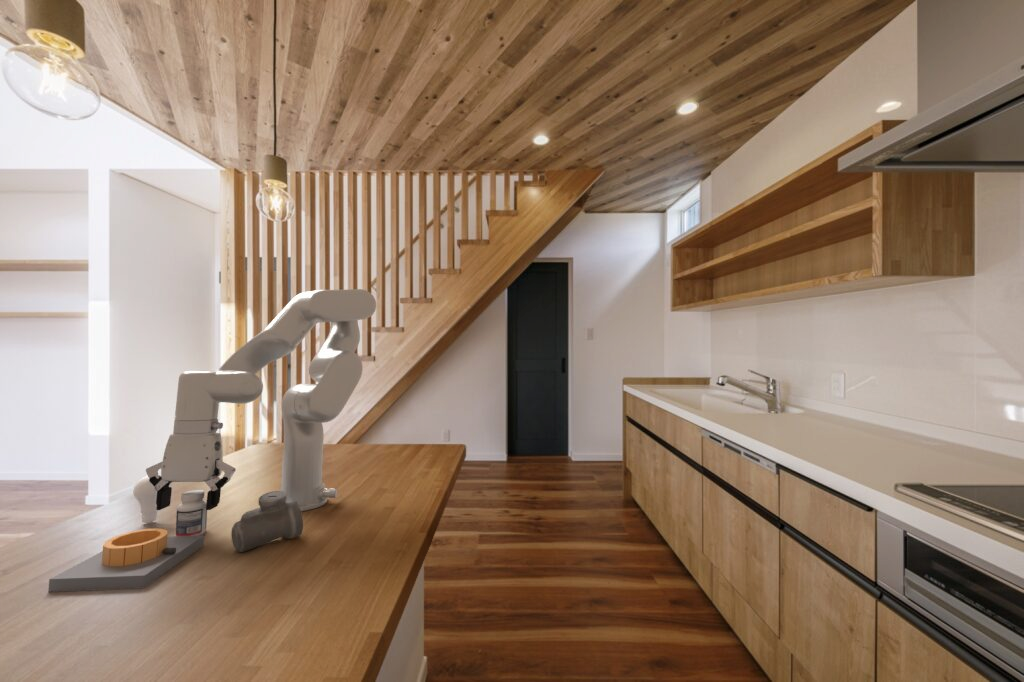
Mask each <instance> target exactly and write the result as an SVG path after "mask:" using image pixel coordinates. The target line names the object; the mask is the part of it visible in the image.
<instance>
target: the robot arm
mask: <svg viewBox="0 0 1024 682" xmlns="http://www.w3.org/2000/svg"><path fill="white" fill-rule="evenodd" d="M376 310H377V300H376V298H375V296H374V295H373V294H372V293H371V292H369V291H368V290H366V289H362V288H359V289H358V288H356V289H355V288H353V289H316V290H310V291H303V292H300V293H298V294H297V295H295V296H294V297H292V299H290V301H289V302H288V303H287V304H286V305H285V306H284V307H283V308H282V309H281V310H280V311H279V312H278V314H277V315H276V316H275V317H274V318H273V319H272V320H271V321H270V322H269V323H268V325H266V327H264V328H263V329H262V331H260V332H259V333H257V334H256V335H255V336H253V337H252V338H251V339H250V340H249V341H247V342H246V343H245V344H244V345H242V346H241V347H239V348H238V349H237V350H236V351H235V352H233V354H232V355H230V356H229V357H228V358H227V360H225V362H224V363H222V365H221V366H219V368H218V369H217V370H216V371H211V370H210V371H207V370H186V371H185V370H184V371H182V373H180V375H179V377H178V384H177V392H176V393H177V394H176V402H175V403H176V404H175V412H174V414H175V415H174V422H173V431H172V433H170V434H169V437H168V440H167V443H166V445H165V448H164V453H163V458H162V461H160V462H158V463H156V464H153V465H152V466H149V467H147V468H146V469H145V472H146V476H147V475H148V477H149V478H150V479H149V481H150V483H151V484H152V485H153V486H154V489H155V490H156V491H157V499H156V504H157V508H156V509H157V510H158V511H161V510H163V509H165V508H167V507H170V506H171V501H172V500H171V499H172V490H173V488H172V486H170V485H172V483H177V482H178V483H205V484H206V485H207V486H208V488H209V489H210V490H208V492H207V496H206V502H207V504H206V509H207V511H210V510H213V509H215V508H216V507H218V506H219V503H220V502H221V490H222V488H223V487H224V486H225V485H226V484H227V483H229V482H230V481H231V478H232V477H233V475H234V474H235V473H236V468H235V467H234V466H232V465H230V464H228V463H226V462H225V461H223V460H224V459H223V456H224V455H223V454H224V453H223V442H222V436H221V435H222V434H221V433H220V432H218V429H219V430H222V428H224V423H223V422H219V419H218V416H219V408H220V407H219V405H220V403H229V404H237V405H238V404H239V405H240V404H241V405H242V404H243V405H244V404H249V403H252V402H254V401H256V400H257V399H258V398H259V397H260V396H261V395H262V393H263V390H264V384H263V383H264V382H263V381H262V379H261V378H260V376H258V375H257V373H259V372H260V371H261V370H262V369H263V368H264V367H266V366H268V365H269V364H270V363H272V362H274V361H277V360H279V359H282V358H283V357H285V356H287V355H289V354H291V353H292V352H294V351H295V350H296V349H297V348H298V346H299V345H300V344H301V342H302V341H303V340H304V339H305V338H306V336H307V335H308V334H309V333H310V332H311V330H313V328H314V327H315V326H316V324H318V323H330V331H329V333H328V335H327V337H325V338H326V339H325V340H324V342H323V343H322V345H321V346H320V348H319V349H318V350H317V352H316V354H315V355H314V356H313V359H312V360H311V361H310V363H309V365H308V375H309V377H310V378H311V379H312V380H313V381H314V382H316V383H317V384H316V383H299V384H294V385H292V386H290V387H289V388H288V389H287V390H286V391H285V393H284V394H283V396H282V399H281V413H282V415H281V416H282V421H283V422H282V423H283V447H282V463H281V464H282V465H281V466H282V468H281V486H280V488H281V489H280V491H284V492H285V493H286V500H288V499H290V498H293V499H295V500H296V501H297V503H298V504H299V506H300V509H301V512H303V511H309V510H313V509H317V508H319V507H321V506H323V505H325V504H326V503H327V501H328V498H329V499H330V498H331V499H334V498H336V499H337V497H338V494H339V493H338V490H337V489H336V488H327V487H326V483H325V482H324V483H323V482H322V480H323V477H322V476H323V461H324V460H323V455H324V453H323V452H324V441H325V440H324V439H325V438H324V437H325V436H324V435H325V434H324V427H323V424H324V423H329V422H331V421H333V420H335V419H336V418H337V417H338V416H339V415H340V414H341V412H342V411H343V410H344V408H345V406H346V405H347V403H348V401H349V399H350V398H351V396H352V395H353V393H354V391H355V389H356V387H357V385H358V384H359V382H360V380H361V378H362V375H363V362H362V359H361V357H360V356H359V355H358V354H357V352H356V350H357V348H358V347H359V344H360V340H361V332H360V328H359V324H358V321H359V320H361V321H362V320H366V319H369V318H370V317H372V316H373V315H374V313H375V312H376ZM159 471H160V474H159ZM223 472H224V474H223V476H222V477H221V478H220V476H221V475H222V473H223ZM160 475H161V476H160Z"/></svg>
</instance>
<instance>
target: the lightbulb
mask: <svg viewBox="0 0 1024 682" xmlns="http://www.w3.org/2000/svg"><path fill="white" fill-rule="evenodd" d="M159 475H160V476H161V474H159ZM149 479H150V478H149V477H148V475H147V474H146V475H145V476H144V477H141V478H140V479H139V480H137V482H136V483H135V485H134V487H133V496H134V497H135V499H136V500H137V502H138V504H139V508H140V513H141V521H142V523H145V524H147V525H148V524H152V523H153V522H155V521H156V520H157V517H158V512H159V510H157V509H156V508H157V504H156V499H157V491H156V490H155V489H154V486H153V485H152V484H151V483H150V481H149Z"/></svg>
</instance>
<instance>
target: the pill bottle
mask: <svg viewBox="0 0 1024 682" xmlns="http://www.w3.org/2000/svg"><path fill="white" fill-rule="evenodd" d="M180 502H181V503H180V504H179V505H178V506H177V507H176V516H175V517H176V521H175V536H200V535H204V533H206V532H207V520H208V517H207V516H208V510H207V509H206V504H207V500H205V490H203V489H196V490H195V489H194V490H188V491H184V492H183V493H181V494H180Z"/></svg>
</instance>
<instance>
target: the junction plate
mask: <svg viewBox="0 0 1024 682" xmlns="http://www.w3.org/2000/svg"><path fill="white" fill-rule="evenodd" d="M204 545H205V535H204V534H202V535H199V536H176V535H173V536H171V535H170V536H168V529H163V528H160V527H158V528H144V529H138V530H133V531H128V532H126V533H122V534H118V535H116V536H113V537H112V538H110V539H107V540H106V541H104V544H103V545H102V551H100V552H99V553H96V554H95V555H93V556H91V557H89V558H87V559H85V560H83V561H81V562H79V563H77V564H75V565H73V566H72V567H70V568H67V569H66V570H64V571H62V572H60V573H58V574H56V575H54V576H53V577H51V578H49V579H48V590H47V591H48V593H49V592H50V593H54V592H55V591H56V592H58V591H59V592H77V591H98V590H99V591H102V590H103V591H105V590H106V591H107V590H122V589H123V590H127V589H128V590H129V589H145V588H146V587H147V586H149V585H150V584H151V583H153V582H154V581H156V580H157V579H159V578H160V577H161V576H163V575H164V574H165V573H167V572H169V571H170V570H171V569H172V568H174V567H175V566H177V565H178V564H180V563H181V562H182V561H184V560H185V559H186V558H188V557H190V556H191V555H192V554H194V553H196V551H198V550H200V549H201V548H202V547H203V546H204ZM51 591H52V592H51ZM56 592H55V593H56ZM59 592H58V593H59Z"/></svg>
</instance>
